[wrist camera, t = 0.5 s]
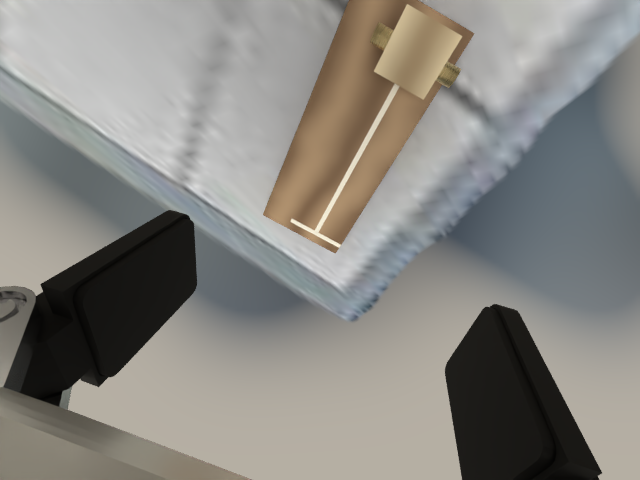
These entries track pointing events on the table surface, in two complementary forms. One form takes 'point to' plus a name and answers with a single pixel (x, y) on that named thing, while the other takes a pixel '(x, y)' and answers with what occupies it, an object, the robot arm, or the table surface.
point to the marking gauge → (416, 52)
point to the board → (349, 128)
